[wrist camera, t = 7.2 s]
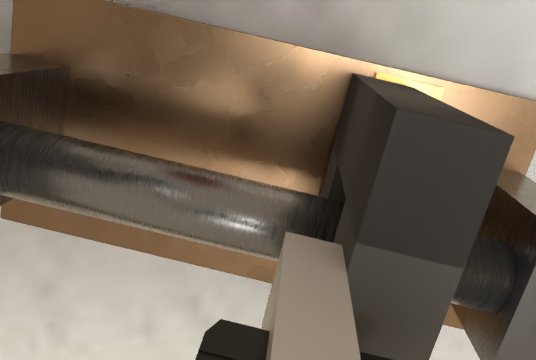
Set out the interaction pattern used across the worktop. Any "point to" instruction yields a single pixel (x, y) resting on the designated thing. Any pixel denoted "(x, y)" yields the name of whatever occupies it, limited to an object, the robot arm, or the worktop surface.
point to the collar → (408, 208)
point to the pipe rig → (227, 150)
